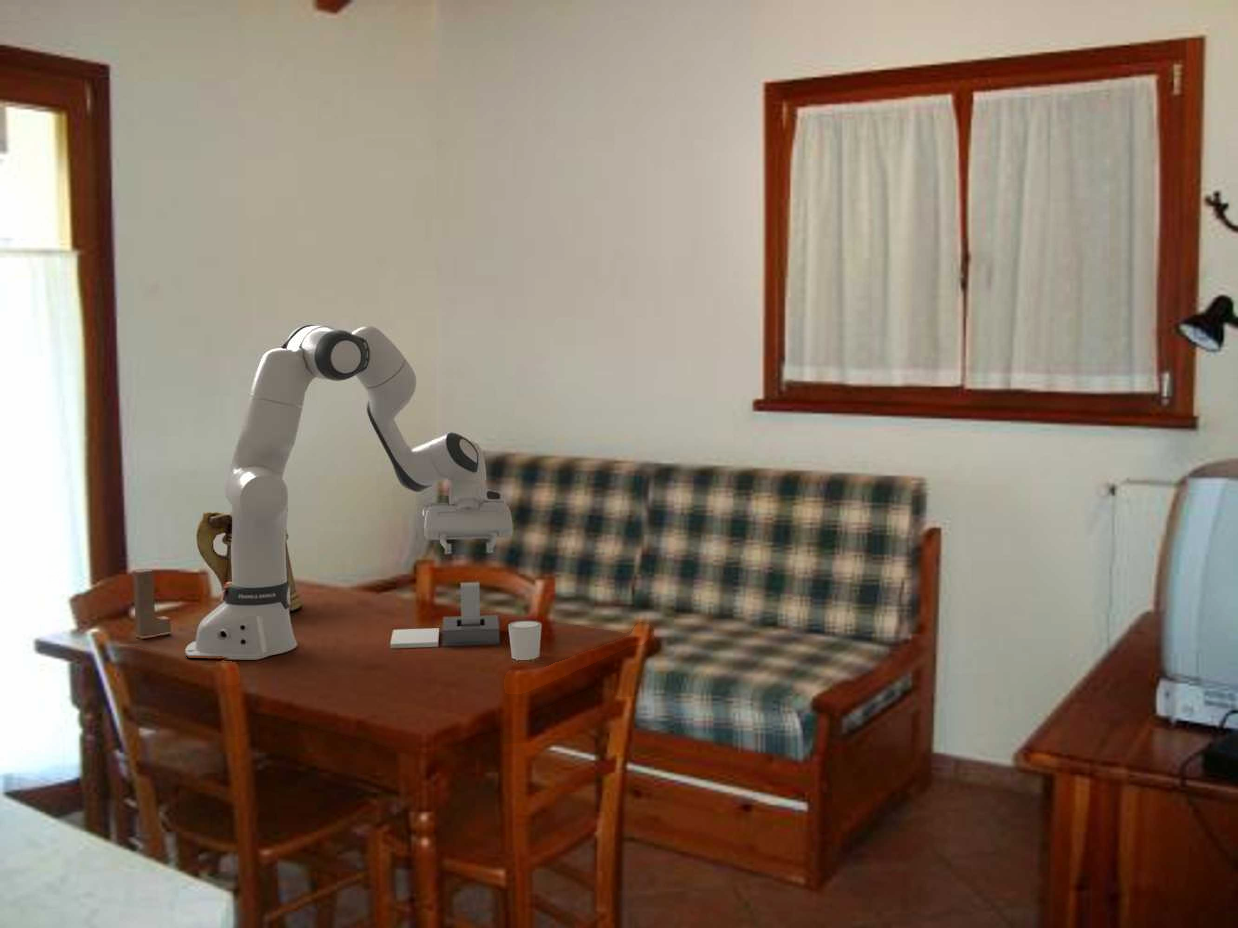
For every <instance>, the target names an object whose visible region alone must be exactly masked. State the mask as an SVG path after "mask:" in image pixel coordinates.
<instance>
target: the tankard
mask: <svg viewBox="0 0 1238 928" xmlns="http://www.w3.org/2000/svg"><path fill="white" fill-rule="evenodd" d="M222 534H224V535H223V537H222V539H221V542H222V544H224V545H226V546H227V547H226V553H225V555H224V554H223V555H222V554H218V553H217V551H215V549H214V540H216V537H217V536H218V535H222ZM288 540H289V533H288V530H286V542H285V548H286V576H287V580H288V581H289V587H290V606H289V613H290V612H292V611H295V610H297V609H299V608H300V607H301V606H302V602H301V597H300V594H299V593H300V591H299V590H298V589H297V588H296V584H295V578H294V575H293V570H292V569H293V568H292V563H291V558H290V554H289V549H288V544H287V541H288ZM231 542H232V511H227V512H219V511H204V512H203V516H202V518H201V519H200V522H199V524H198V526H197V531H196V546H197V550H198V552H199V555H200V556H201V557H202V559H203V561H204V562H205V563H206V565H208V567H209V568H210V569H211V571H212V572H213V573H214V575H215V576H216V577H217V579H218V581H219V583H220V587H221V590H222V591H221V592H223V587H224V585H225V584H226V583H227V582H232V565H231ZM223 602H224V600H223V595H221V597H220V604H219V605H221V604H222V603H223Z"/></svg>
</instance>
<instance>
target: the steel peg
mask: <svg viewBox="0 0 1238 928" xmlns="http://www.w3.org/2000/svg"><path fill="white" fill-rule="evenodd" d="M480 593H481V592H480V582H479V581H473V582H472V581H471V582H460V612H461V615H460V616H461V624H462V626H480V616H481V604H480V603H481V601H480V599H481V598H480Z"/></svg>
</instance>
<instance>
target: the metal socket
mask: <svg viewBox="0 0 1238 928" xmlns="http://www.w3.org/2000/svg"><path fill="white" fill-rule="evenodd" d="M442 618H443V619H442V647H462V646H463V647H464V646H489V645H491V646H492V645H493V646H494V645H500V644H501V643H500V624H499V616H498V614H494V615H493V614H491V615H490V614H489V615H480V626H462V624H461V615H460V616H443V617H442Z"/></svg>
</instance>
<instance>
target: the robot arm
mask: <svg viewBox="0 0 1238 928" xmlns="http://www.w3.org/2000/svg"><path fill="white" fill-rule="evenodd" d="M416 376H417V375H416V374H415V371H414V369H413V368H412V366H411V363H409V361H408V359H406V358H405V356H404V355H403V354H402V352H401V351H400V349H398V347H397V346H396V344H394V343H393V342H392V340H391V339H389V338H388V336H387V335H386V334H384V332H382V331H381V330H380V329H378V328H377V327H374V326H369V325H368V326H362V327H359V328H356V329H355V330H353V331H352V332H350V331H349V332H348V331H346V330H344V329H342V330H341V329H336V328H335V327H332V326H328V325H327V326H326V325H314V324H307V325H303V326H300V327H298V328H296V329H295V330H294V331H292V332H291V333H290V335H288V337H287V339H286V341H285V342H284V343H283V344H282V346H281V347H280V348H274V349H271V350H268V351H267V352H265V353H264V354H263V356H262V357H261V359H260V362H259V364H258V365H257V369H256V370H255V374H254V376H253V380H252V383H251V385H250V386H251V387H250V391H249V396H248V399H247V404H246V409H245V413H244V418H243V421H242V425H241V430H240V434H239V438H238V440H237V443H236V447H235V450H234V453H233V456H232V460H231V462H230V465H229V466H230V467H229V470H228V474H227V478H226V480H225V486H224V491H225V492H224V493H225V498H226V499H227V501H228V502H229V504H230V505H231V510H232V511H231V512H232V542H231V565H232V582H227V583H226V584H225V585H224V587H223V591H221V592H222V595H221V596H223V600H224V602H223V603H222V604H221V603H220V604H221V605H220V604H219V605H218V606H217V607H215V609H213V610H212V611H211V612H210V613H208V614H207V615H206V616H205V617H203V619H202V620H201V621H200V623H199V624H198V626H197V630H196V637H195V640H194V641H192V642H190V643H189V644H188V645H187V646H186V648H185V651H184V654H185V653H186V655H188V656H223V657H227V658H229V659H228V660H246V661H247V660H249V661H250V660H255V661H256V660H261V659H264V658H266V657H270V656H273V655H278V654H279V655H280V654H284V653H287V652H289V651H292V650H293V649H295V648H296V647H297V646H298V643H297V640H296V638H295V635H294V630H293V627H292V622H291V615H290V612H289V606H290V587H289V581H288V580H287V576H286V548H285V542H287V540H286V530H287V529H288V527H287V526H288V511H289V508H288V504H289V502H288V501H289V499H288V498H289V491H288V487H287V484H286V483H285V481H284V479H283V475H284V473H285V470H286V466H287V462H288V461H289V458H290V455H291V452H292V449H293V447H294V446H295V442H296V438H297V433H298V430H299V426H300V425H299V424H300V421H301V417H302V412H303V406H304V403H305V395H306V392H307V390H308V387H309V385H310V384H311V383H312V381H313V380H314V379H316V378H317V379H321V380H330V381H334V382H335V381H336V382H339V381H341V382H342V381H344V380H348V379H351V378H353V377H356V378H357V379H358V381H359V382H360V384H361V385H362V386H363V387H364V389H365V391H366V392H367V395H368V401H367V403H366V411H367V416H368V419H369V421H370V423H371V426H372V427H373V429H374V432H375V433H376V435H377V437H378V439H379V441H380V442H381V445H382V447H383V449H384V450H385V452H386V454H387V456H388V458H389V460H390V462H391V464H392V467H393V469H394V473H395V475H396V478H397V479H398V482H399V483H400V485H401V486H402V487H404V488H406V489H407V490H410V491H412V492H416V493H419V492H422V491H424V490H426V489H428V488H430V487H432V486H433V485H435V484H437V483H440V482H442V481H444V480H447V479H448V481H449V485H450V487H449V488H448V489H449V490H448V502H439V503H435V502H432V503H429V504H427V505H426V506H424V507H423V509H422V517H423V518H424V525H423V534H424V537H425V538H426V539H427V540H429V541H434V540H435V541H437V540H439V543H440V545H441V547H443V549H444V554H445V555H450V554H452V543H448V542H447V540H468V539H491V540H490V542H486V553H488V554H489V553H492V554H493V553H494V547H495V546H496V544H497V542H498V541H499V540H498V539H509V538H510V537H511V536H513V531H514V529H513V527H514V526H513V516H512V514H511V510H510V507H509V505H507V499H506V495H505V493H503V492H499V491H495V490H491V489H488V488H487V487H486V481H487V470H486V469H487V467H486V462H485V458H484V454H483V450H482V448H481V446H479V444H478V443H476V442H475V441H472V440H468V439H467V438H466V437H465V436H462V435H461V434H459V433H455V432H449V433H445V434H443V435H440V436H438V437H436V438H432V440H430V441H427V442H424V443H422V444H420V445H417V446H409V445H408V444H407V443H406V440H405V438H404V436H403V435H402V432H401V430H400V428H399V427H398V425H397V422H396V420H395V418H396V417H397V416H398V414H399V413H401V412H402V410H403V409H404V408H405V407H406V406H407V405H408V404H409V402H410V401H411V399H412V398H413V396H414V394H415V391H416V388H417V387H416V386H417V377H416ZM287 531H288V530H287Z"/></svg>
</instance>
